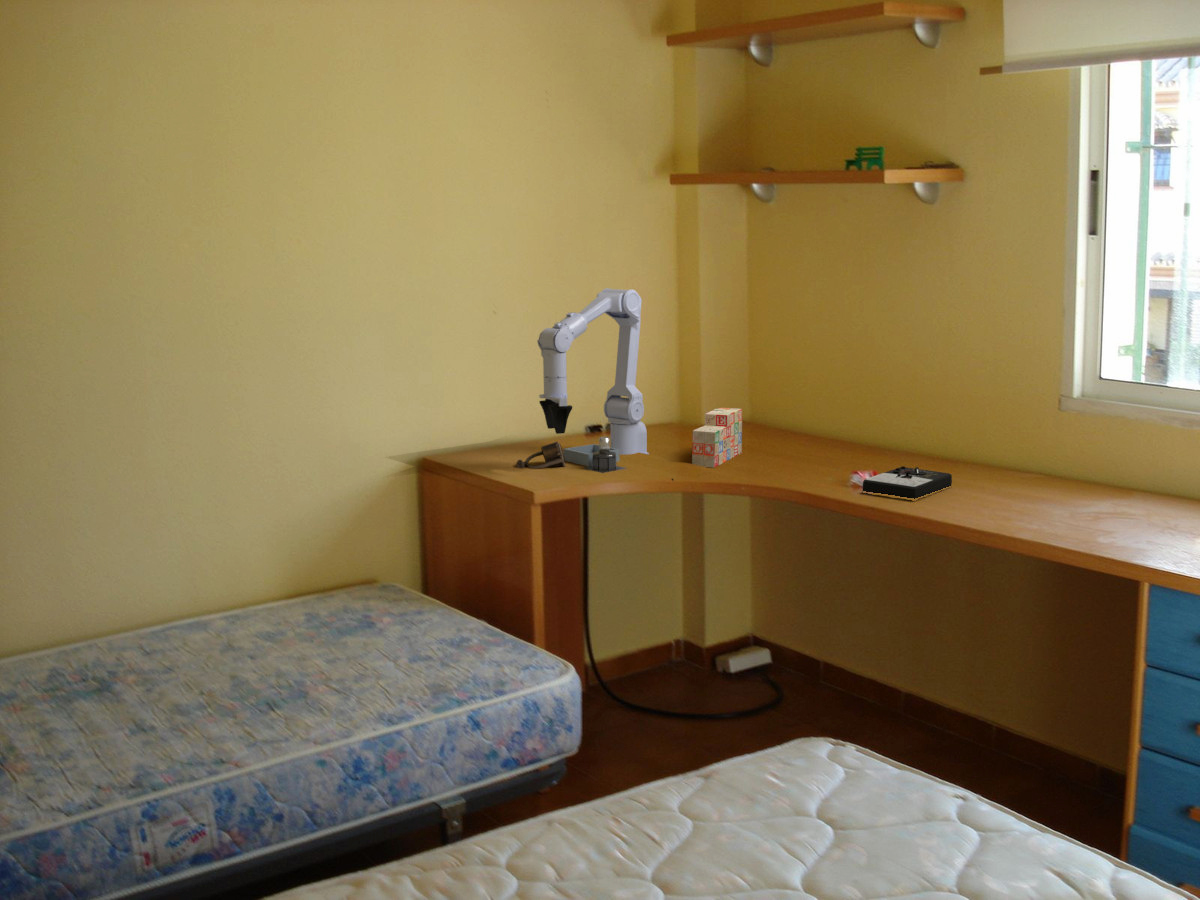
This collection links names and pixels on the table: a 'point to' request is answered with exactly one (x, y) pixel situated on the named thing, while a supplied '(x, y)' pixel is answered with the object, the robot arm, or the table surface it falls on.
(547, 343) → the robot arm
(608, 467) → the dark grey stepped cylinder
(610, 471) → the stud mount
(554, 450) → the dark brown handled cylinder
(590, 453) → the bin
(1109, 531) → the table surface
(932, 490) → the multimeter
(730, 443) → the stack of blocks
